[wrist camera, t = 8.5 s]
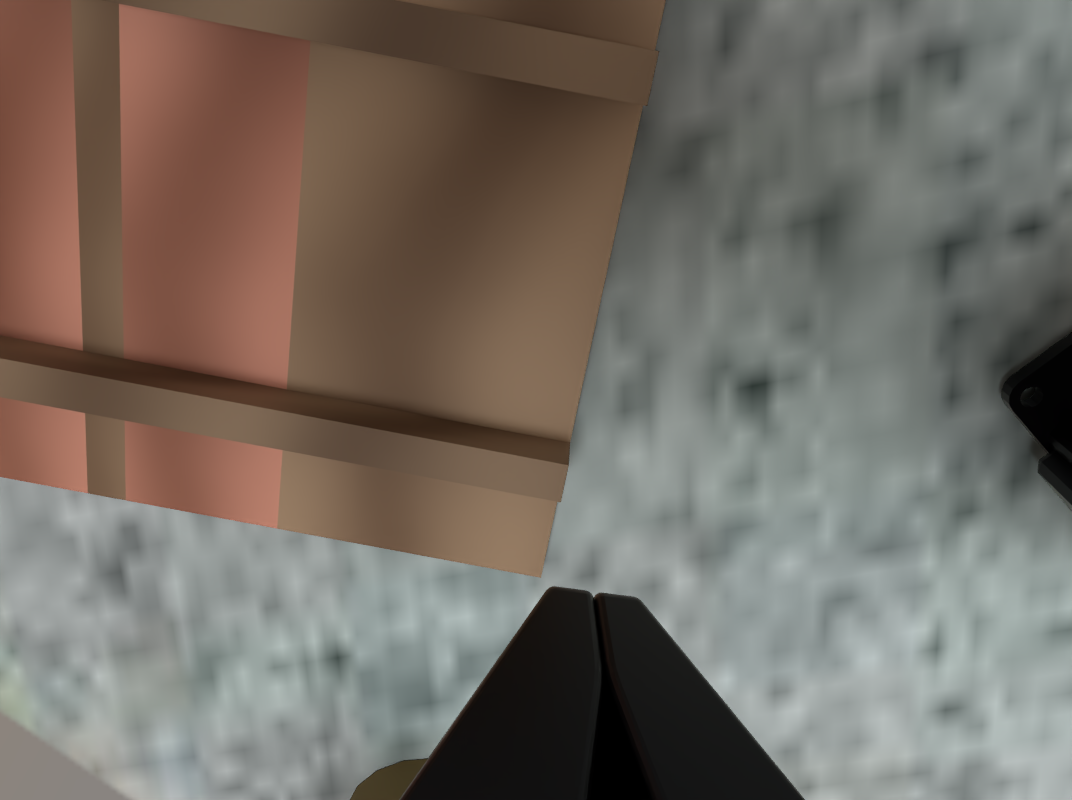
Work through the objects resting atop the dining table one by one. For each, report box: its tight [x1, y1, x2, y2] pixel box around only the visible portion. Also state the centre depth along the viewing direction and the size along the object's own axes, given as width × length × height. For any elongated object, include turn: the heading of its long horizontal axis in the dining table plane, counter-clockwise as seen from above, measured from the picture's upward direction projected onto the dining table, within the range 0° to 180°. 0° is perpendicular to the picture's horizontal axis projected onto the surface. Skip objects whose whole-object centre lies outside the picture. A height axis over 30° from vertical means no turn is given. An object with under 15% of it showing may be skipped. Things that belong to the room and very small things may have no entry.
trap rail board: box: [0, 0, 666, 578], centre depth 18 cm, size 21×16×4 cm
